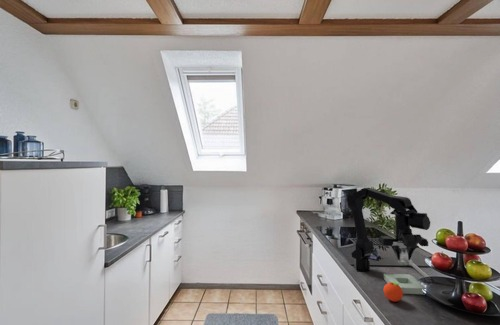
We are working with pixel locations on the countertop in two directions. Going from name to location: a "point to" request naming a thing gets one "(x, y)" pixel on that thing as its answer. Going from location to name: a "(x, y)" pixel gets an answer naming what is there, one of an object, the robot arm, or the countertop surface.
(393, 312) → the countertop surface
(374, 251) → the snack package
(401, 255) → the bushing
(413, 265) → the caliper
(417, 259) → the countertop surface
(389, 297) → the clementine
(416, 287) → the jig
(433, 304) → the countertop surface
